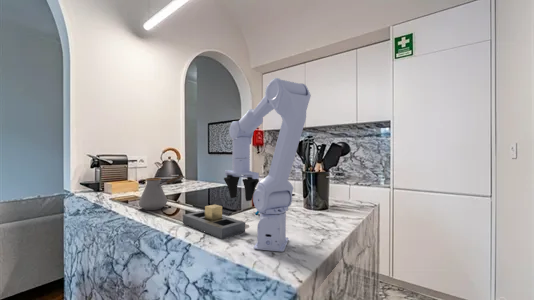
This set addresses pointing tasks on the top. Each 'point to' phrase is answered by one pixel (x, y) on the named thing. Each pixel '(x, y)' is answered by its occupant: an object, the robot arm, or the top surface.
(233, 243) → the top surface
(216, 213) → the tan rectangular block
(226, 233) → the grey compartment tray
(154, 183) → the coffee pot
